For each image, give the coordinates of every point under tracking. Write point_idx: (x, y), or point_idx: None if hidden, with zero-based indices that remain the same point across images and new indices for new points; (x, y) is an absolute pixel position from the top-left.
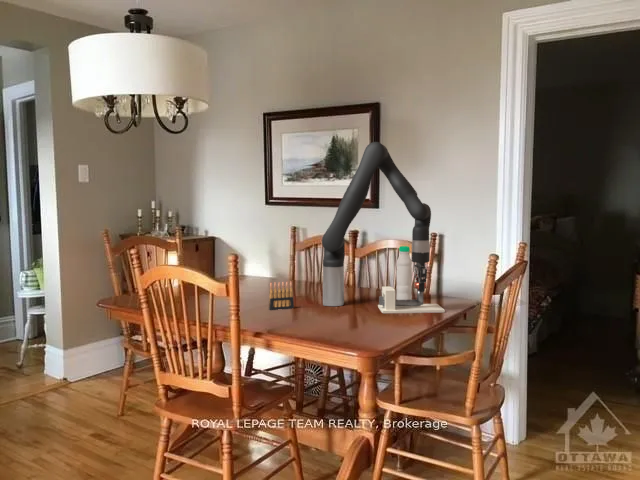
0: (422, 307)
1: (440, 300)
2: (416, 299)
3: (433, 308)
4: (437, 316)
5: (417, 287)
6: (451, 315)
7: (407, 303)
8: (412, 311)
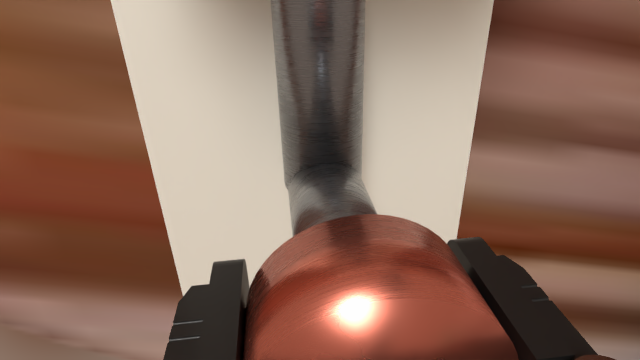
0: None
1: (621, 328)
2: (329, 158)
3: (252, 264)
4: (15, 255)
5: (265, 280)
6: (88, 346)
7: (272, 16)
8: (125, 48)
